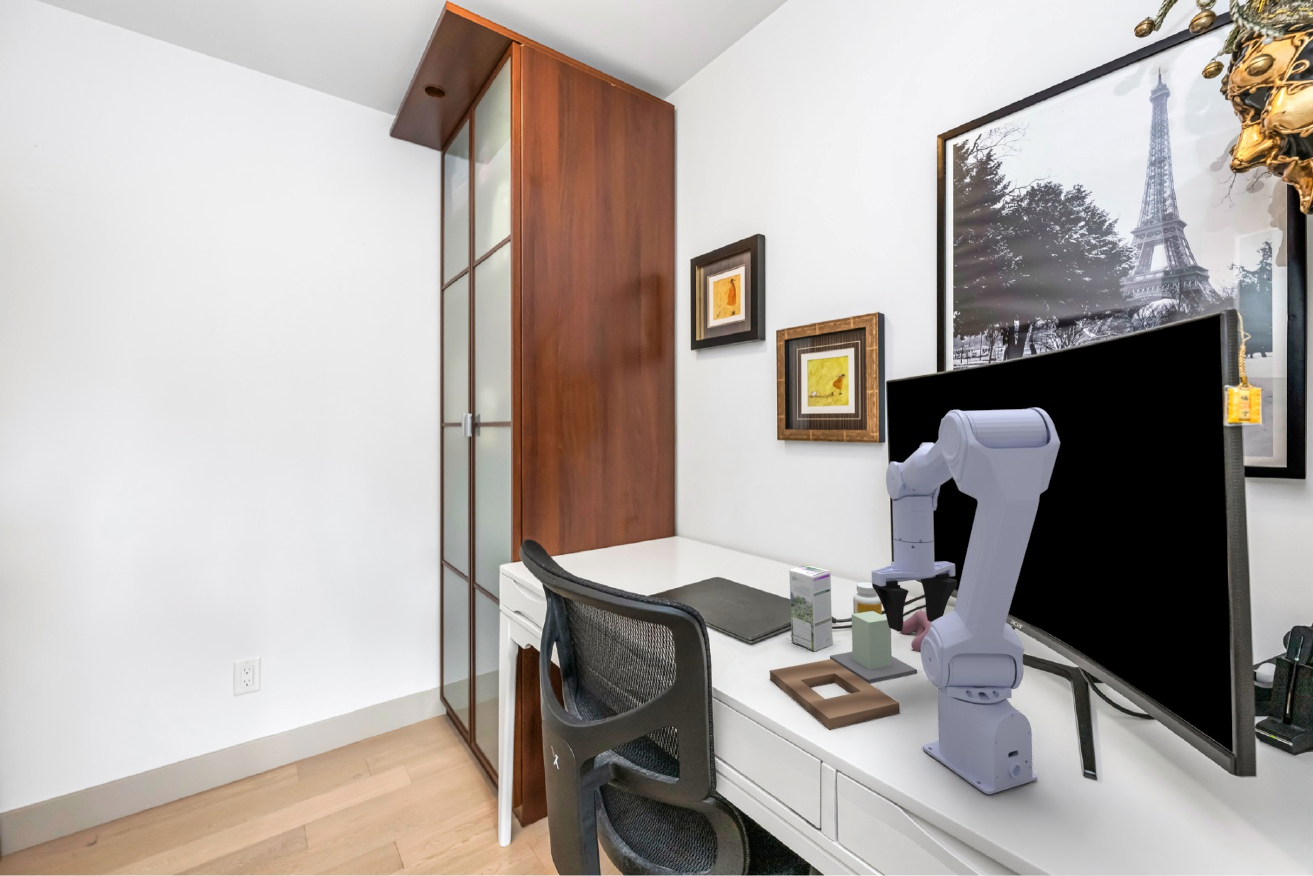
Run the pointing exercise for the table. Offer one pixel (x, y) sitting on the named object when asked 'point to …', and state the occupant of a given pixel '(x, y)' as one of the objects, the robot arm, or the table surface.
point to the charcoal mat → (874, 674)
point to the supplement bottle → (866, 599)
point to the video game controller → (917, 628)
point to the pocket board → (838, 709)
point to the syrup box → (811, 607)
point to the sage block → (871, 640)
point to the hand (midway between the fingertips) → (915, 625)
